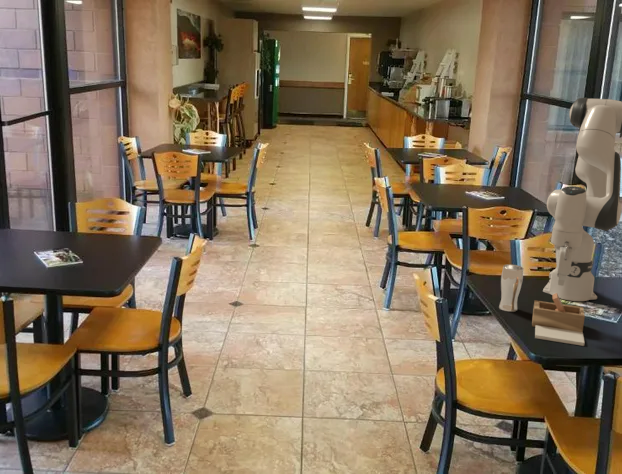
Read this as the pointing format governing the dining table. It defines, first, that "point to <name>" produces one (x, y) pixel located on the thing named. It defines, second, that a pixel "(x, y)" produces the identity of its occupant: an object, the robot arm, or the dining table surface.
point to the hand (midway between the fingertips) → (560, 280)
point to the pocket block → (558, 316)
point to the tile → (558, 303)
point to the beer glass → (510, 287)
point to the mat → (559, 335)
